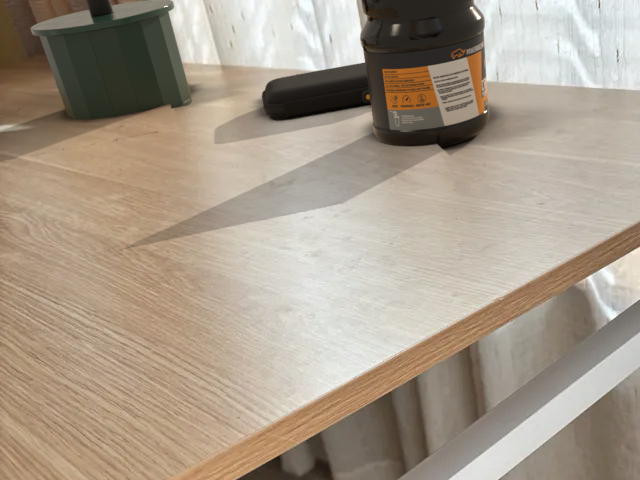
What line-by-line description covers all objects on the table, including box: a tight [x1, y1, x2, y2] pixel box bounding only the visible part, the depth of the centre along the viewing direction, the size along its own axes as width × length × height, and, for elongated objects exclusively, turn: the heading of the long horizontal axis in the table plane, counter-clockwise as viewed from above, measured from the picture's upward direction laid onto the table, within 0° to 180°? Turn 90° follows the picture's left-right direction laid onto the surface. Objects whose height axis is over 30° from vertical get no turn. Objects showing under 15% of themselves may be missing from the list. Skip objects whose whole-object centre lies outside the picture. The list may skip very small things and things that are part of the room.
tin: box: [38, 11, 193, 120], centre depth 96 cm, size 15×15×10 cm
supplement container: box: [359, 0, 490, 148], centre depth 70 cm, size 10×10×12 cm
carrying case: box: [261, 62, 371, 121], centre depth 86 cm, size 11×3×15 cm
